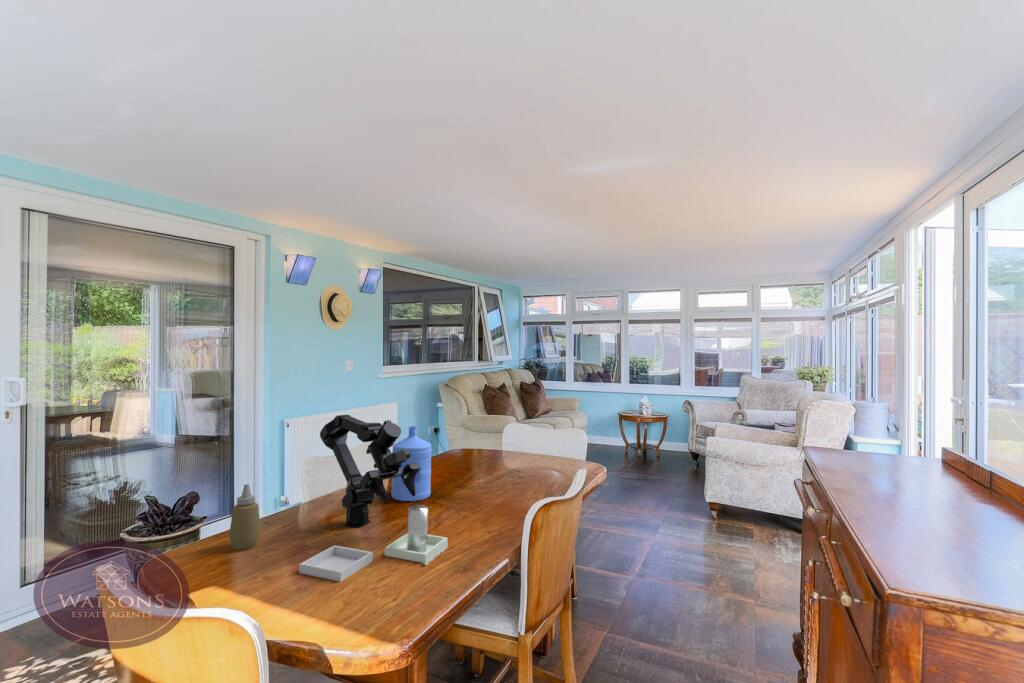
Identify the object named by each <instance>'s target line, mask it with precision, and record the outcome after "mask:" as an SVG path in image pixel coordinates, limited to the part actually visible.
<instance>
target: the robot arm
mask: <svg viewBox="0 0 1024 683" xmlns="http://www.w3.org/2000/svg"><path fill="white" fill-rule="evenodd" d="M349 432H350V433H353V434H355V435H356V438H357V439H358V440H359V441H361V442H362V443H369V442H371V443H370V444H368V445H367V448H366V452H365V453H366V454H367V455H368V454H370V455H371V457H372V459H373V461H374V464H373V468H374V470H368V471H366V472H365V474H364V475H362V473H361V472H360V470H359V467H358V465H357V464H356V460H355V459H354V457H353V455H352V453H351V451H350V448H349V446H348V445H347V438H348V433H349ZM401 434H402V428H401V427H400V426H398V424H396V423H393V422H392V420H391V419H390V420H389V419H388V420H387V419H386V420H384V422H383V423H381V422H366V421H364V420H361V419H358V418H355V417H354V416H351V415H349V414H340V415H336V416H334V418H333V419H332V420H330V421H329V422H327V423H326V424H325V425H324V426H323V427H322V428H321V430H320V431H319V437H320V440H322V443H323V444H324V446H326V447H327V448H329V450H332V453H333V454H334V456H335V458H336V461H337V463H338V465H339V467H340V470H341V472H342V474H343V476H344V478H345V481H346V487H345V495H344V496H343V498H342V499H341V505H342V507H343V508H345V509H346V515H345V516H346V520H345V522H343V523H342V525H343V526H348V527H353V528H361V527H363V526H364V525H366V524H368V522H369V523H370V522H371V519H370V518H369V515H370V514H369V513H370V512H369V511H370V510H369V509H368V508H369V505H371V504H373V501H374V497H375V495H376V496H377V497H379V498H380V499H381V500H382V501H384V502H385V503H386V504H389V503H390V497H389V494H388V492H387V490H386V488H385V485H384V480H388V479H393V478H394V477H399V476H401V478H402V479H403V480H404V481H403V483H404V485H405V486H406V488H407V489H408V491H409V492H410V494H411V495H412V496H413V497H414V496H415V495H416V493H415V476H416V474H417V473H418V472H419V470H420V469H421V468H420V466H419V464H418V463H411V464H407V465H406V466H405V467H404V469H402V470H399V468H400V467H401V466H402V464H401V463H403V462H406V461H407V459H409V458H410V452H409V451H408V449H403V450H401V451H400V452H395V453H392V451H391V449H390V448H391V447H392V448H393V445H394V444H395V443H396V441H397V440H398V439H399V438H400V436H401Z"/></svg>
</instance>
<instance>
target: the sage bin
mask: <svg viewBox="0 0 1024 683" xmlns="http://www.w3.org/2000/svg"><path fill="white" fill-rule="evenodd" d="M407 534H408V532H407V533H405V534H403V535H402V536H400V537H398V539H395V540H394V541H393V542H391V543H389V544H388V545H386V546H385V547H384V556H385V557H390V558H391V557H392V558H396V559H399V560H400V559H401V560H407V561H413V562H416V563H417V562H418V563H421V566H423V565H426V566H427V565H428V564H430V563H431V562H433V560H435V559H436V558H437V557H439V556H440V555H441V554H442V553H444V551H446V550H447V549H448V545H449V544H448V543H449V538H448V537H444V536H440V535H433V534H428V533H427V550H426V552H424V553H421V552H415V551H410V550H407ZM445 549H446V550H445ZM441 552H442V553H441ZM440 553H441V554H440ZM436 556H437V557H436ZM435 557H436V558H435ZM434 558H435V559H434ZM430 561H431V562H430ZM429 562H430V563H429Z"/></svg>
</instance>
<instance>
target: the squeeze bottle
mask: <svg viewBox="0 0 1024 683" xmlns="http://www.w3.org/2000/svg"><path fill="white" fill-rule="evenodd" d="M260 521H261V520H260V510H259V504H258V503H257V502H256V495H254V494H252V492H251V487H250V484H248V483H247V484H244V486H243V488H242V493H241V496H238V497H237V498H236V505H234V507H232V514H231V520H230V526H229V534H228V538H229V541H230V543H231V545H232V549H233V550H235V551H237V550H238V551H242V550H248V549H251V548H254V547H255V546H256V545H257V543H258V540H259V538H260V535H261V522H260Z"/></svg>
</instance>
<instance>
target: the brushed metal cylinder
mask: <svg viewBox="0 0 1024 683" xmlns="http://www.w3.org/2000/svg"><path fill="white" fill-rule="evenodd" d="M407 513H408V514H407V533H408V534H407V533H406V534H407V550H410V551H415V552H421V553H424V552H426V550H427V534H428V525H429V522H428V519H429V507H428V506H426V505H424V504H423V505H422V504H414V505H413V504H412V505H411V506H409V507H408V512H407Z"/></svg>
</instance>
